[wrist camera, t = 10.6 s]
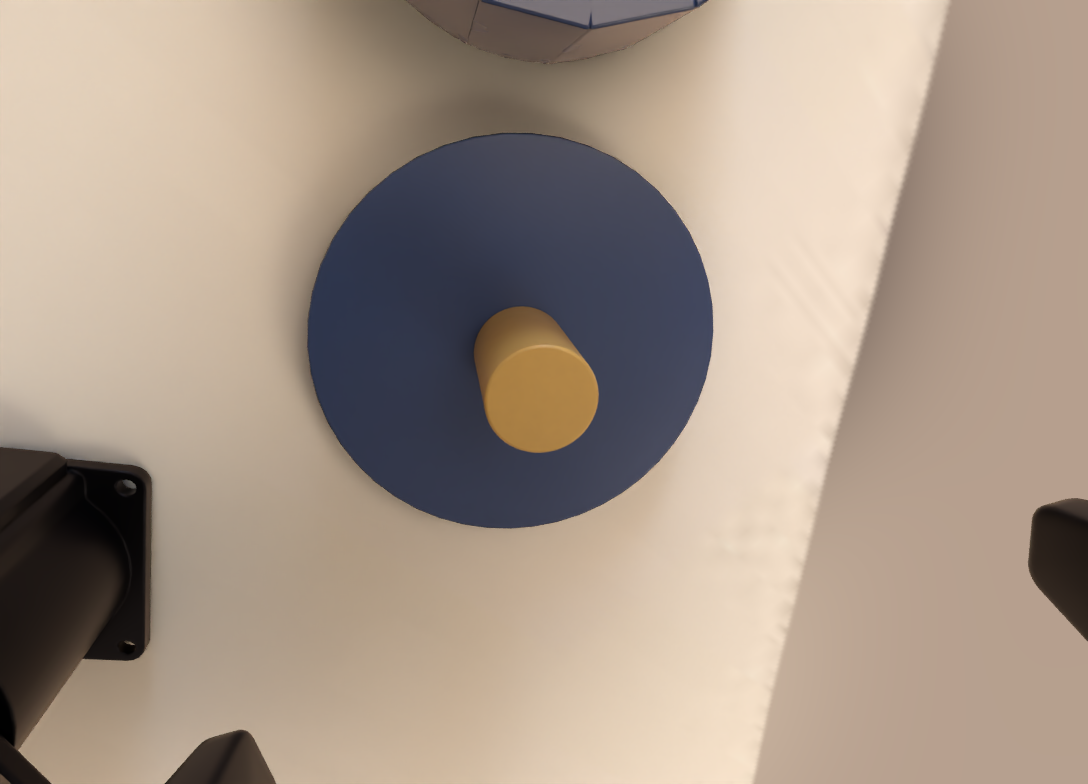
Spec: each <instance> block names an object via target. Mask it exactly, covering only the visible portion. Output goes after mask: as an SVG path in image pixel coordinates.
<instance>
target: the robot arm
mask: <svg viewBox="0 0 1088 784" xmlns="http://www.w3.org/2000/svg"><path fill="white" fill-rule="evenodd" d="M126 479H127V480H130V481H132V482H133V483H134V484H135V485H136V488H137V489H130V488H127V487H126V486H125V485H124V483H123V480H126ZM151 501H152V482H151V477H150V476H149V474H148V473H147V472H146V471H145V470H143V469H142V468H140V467H137V466H133V465H123V464H113V463H103V462H93V461H83V460H72V459H66V458H65V457H63V456H61V455H59V454H57V453H53V452H43V451H33V450H23V449H13V448H3V447H0V784H51V783H50V782H49V781H48V780H47V779H46V778H45V777H44V776H43V775H42V774H41V773H40V772H39V771H38V770H37V769H36V768H35V767H34V766H33V765H32V764H31V763H30V762H29V761H28V760H27V759H26V758H25V757H24V756H23V755H22V754H21V753H20V752H19V751H18V750H19V748H20V747H21V745H22V744H23V743H24V741H25V740H26V738H27V737H28V735H29V734H30V733H31V731H32V730H33V728H34V727H35V725H36V724H37V723H38V721H39V720H40V718H41V717H42V716H43V714H44V713H45V711H46V710H47V708H48V707H49V706H50V704H51V703H52V701H53V700H54V698H55V697H56V696H57V694H58V693H59V691H60V690H61V688H62V687H63V686H64V684H65V683H66V681H67V680H68V678H69V677H70V676H71V674H72V673H73V671H74V670H75V669H76V667H77V666H78V664H79V663H80V661H81V660H82V659H99V660H124V661H128V660H134V659H136V658H139V657H140V656H141V655H142V654H143V652H144V651H145V649H146V647H147V646H148V644H149V640H150V579H151ZM1028 567H1029V572H1030V574H1031V577H1032V579H1033V580H1034V582H1035V584H1036V585H1037V586H1038V588H1039V589H1040V590H1041V591H1042V592H1043V593H1044V595H1046V597H1047V598H1048V599H1049V600H1050V601H1051V602H1052V603H1053V604H1054V605H1055V606H1056V608H1057V609H1058V610H1059V611H1060V612H1061V613H1062V614H1063V615H1064V616H1065V617H1066V618H1067V620H1068V621H1069V622H1070V623H1071V624H1072V625H1073V626H1074V627H1075V628H1076V629H1077V630H1078V631H1079V633H1081V635H1082V636H1083V637H1084V638H1085V639H1086V640H1087V641H1088V500H1084V499H1078V498H1071V499H1065V500H1061V501H1058V502H1055V503H1051V504H1047V505H1044V506H1041V507H1040V508H1038V509H1037V510H1036V511H1035V513H1034V514H1033V517H1032V526H1031V537H1030V548H1029V560H1028ZM126 640H127V641H131V642H132V643H134V644H135V645H129V644H127V643H125V642H124V641H126ZM165 784H276V782H275V780H274V778H273V776H272V774H271V772H270V770H269V768H268V766H267V764H266V762H265V760H264V758H263V756H262V754H261V752H260V750H259V748H258V746H257V744H256V742H255V740H254V738H253V737H252V735H251V734H250V733H249V732H247V731H245V730H237V731H233V732H230V733H226V734H222V735H219V736H215V737H212V738H209V739H207V740H205V741H204V742H202V743H201V744H200V745H199V746H198V747H197V748H196V749H195V750H194V752H193V753H192V754H191V755H190V756H189V757H188V758H187V759H186V760H185V762H184V763H183V764H182V765H181V766H180V767H179V768H178V769H177V771H176V772H175V773H174V774H173V775H172V776H171V777H170V778H169V779H168V781H167V782H166V783H165Z"/></svg>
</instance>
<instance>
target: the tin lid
mask: <svg viewBox="0 0 1088 784" xmlns="http://www.w3.org/2000/svg"><path fill="white" fill-rule="evenodd" d="M712 339H713V311H712V301H711V295H710V289H709V283H708V279H707V275H706V272H705V269H704V266H703V262H702V259H701V256H700V254H699V252H698V250H697V248H696V245H695V243H694V241H693V239H692V237H691V235H690V233H689V231H688V229H687V228H686V226H685V225H684V223H683V222H682V220H681V219H680V217H679V216H678V214H677V212H676V211H675V210H674V209H673V207H672V206H671V205H670V204H669V203H668V202H667V200H666V199H665V198H664V197H663V196H662V195H661V194H660V192H659V191H658V190H657V189H656V188H654V187H653V186H652V185H651V184H650V183H649V182H648V181H646V180H645V179H644V178H643V177H642V176H641V175H639V174H638V173H637V172H636V171H634V170H633V169H631V168H629V167H628V166H626V165H625V164H623V163H622V162H620V161H619V160H617V159H616V158H614V157H612V156H610V155H608V154H605V153H603V152H601V151H599V150H597V149H595V148H592V147H590V146H588V145H585V144H581V143H578V142H575V141H571V140H568V139H565V138H561V137H555V136H548V135H542V134H535V133H498V134H491V135H483V136H476V137H471V138H467V139H464V140H460V141H457V142H453V143H450V144H446V145H443V146H441V147H439V148H436V149H434V150H432V151H430V152H427V153H425V154H423V155H421V156H418V157H416V158H415V159H413V160H412V161H410V162H408V163H407V164H405V165H404V166H402V167H400V168H399V169H397V170H396V171H394V172H392V173H391V174H390V175H389V176H387V177H386V178H385V179H384V180H383V181H381V182H380V183H379V184H378V185H377V186H376V187H374V188H373V189H372V190H371V191H370V192H369V193H368V194H367V195H366V196H365V197H364V198H363V199H362V200H361V201H360V203H359V204H358V205H357V206H356V207H355V208H354V209H353V210H352V212H351V213H350V214H349V215H348V217H347V218H346V220H345V221H344V223H343V224H342V226H341V227H340V229H339V230H338V232H337V233H336V235H335V236H334V238H333V240H332V242H331V244H330V246H329V248H328V250H327V252H326V254H325V256H324V259H323V261H322V263H321V265H320V268H319V271H318V275H317V278H316V281H315V284H314V288H313V291H312V296H311V302H310V309H309V315H308V340H307V347H308V355H309V363H310V371H311V376H312V380H313V383H314V387H315V391H316V394H317V398H318V401H319V403H320V405H321V408H322V410H323V412H324V415H325V417H326V419H327V422H328V424H329V425H330V427H331V429H332V430H333V432H334V434H335V435H336V437H337V439H338V440H339V442H340V444H341V445H342V446H343V448H344V449H345V450H346V451H347V453H348V454H349V455H350V456H351V458H352V459H353V460H354V461H355V463H356V464H357V465H358V466H359V467H360V468H361V469H362V470H363V471H364V472H365V473H366V474H368V475H369V476H370V477H371V478H372V479H373V480H374V481H375V482H376V483H377V484H379V485H380V486H381V487H383V488H384V489H386V490H387V491H388V492H390V493H391V494H392V495H394V496H395V497H397V498H399V499H400V500H402V501H404V502H406V503H407V504H409V505H411V506H413V507H415V508H416V509H419V510H421V511H424V512H426V513H429V514H431V515H434V516H436V517H438V518H442V519H445V520H449V521H453V522H456V523H460V524H465V525H472V526H478V527H485V528H521V527H533V526H539V525H544V524H549V523H554V522H558V521H561V520H564V519H568V518H571V517H574V516H577V515H580V514H582V513H585V512H587V511H589V510H591V509H593V508H596V507H598V506H600V505H602V504H604V503H606V502H607V501H609V500H611V499H612V498H614V497H616V496H617V495H619V494H621V493H622V492H624V491H625V490H626V489H628V488H629V487H630V486H632V485H633V484H634V483H636V482H637V481H638V480H640V479H641V478H642V477H643V476H644V475H645V474H646V473H647V472H648V471H649V470H650V469H651V468H653V467H654V466H655V465H656V464H657V463H658V462H659V461H660V459H661V458H662V457H663V456H664V455H665V453H666V452H667V451H668V450H669V449H670V447H671V446H672V445H673V444H674V442H675V441H676V439H677V438H678V436H679V435H680V433H681V432H682V430H683V429H684V427H685V426H686V424H687V422H688V420H689V418H690V416H691V414H692V412H693V410H694V408H695V406H696V404H697V402H698V399H699V397H700V394H701V391H702V388H703V385H704V382H705V380H706V375H707V371H708V366H709V362H710V357H711V349H712Z"/></svg>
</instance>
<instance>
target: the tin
mask: <svg viewBox="0 0 1088 784" xmlns="http://www.w3.org/2000/svg"><path fill="white" fill-rule="evenodd" d="M406 1H407V2H408V3H410V4H411V5H412V6H413V7H414V8H415V9H417V10H418V11H419V12H420V13H421V14H422V15H424V16H425V17H426V18H427V19H428V20H429V21H431V22H432V23H434V24H435V25H437V26H439V27H440V28H442V29H443V30H445V31H446V32H448V33H449V34H451V35H452V36H454V37H456V38H458V39H460V40H461V41H463V42H464V43H467V44H468V45H471V46H474V47H476V48H478V49H481V50H484V51H487V52H490V53H493V54H496V55H499V56H502V57H506V58H511V59H517V60H523V61H529V62H540V63H544V64H548V63H549V64H553V63H559V62H567V61H575V60H583V59H587V58H591V57H594V56H598V55H601V54H605V53H608V52H613V51H618V50H623V49H626V48H627V47H630V46H632V45H634V44H636V43H637V42H639V41H641V40H643V39H644V38H646V37H648V36H650V35H651V34H653V33H655V32H657V31H658V30H660V29H662V28H664V27H665V26H667V25H669V24H671V23H672V22H674V21H676V20H678V19H679V18H681V17H683V16H685V15H686V14H688V13H690V12H692V11H693V10H695V9H697V8H699V7H700V6H702V5H703V4H704V3H706V2H707V1H708V0H406Z"/></svg>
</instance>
